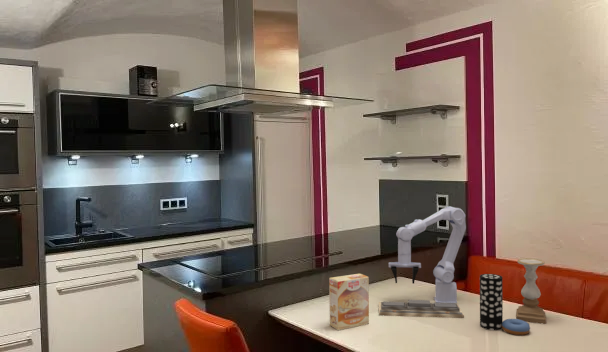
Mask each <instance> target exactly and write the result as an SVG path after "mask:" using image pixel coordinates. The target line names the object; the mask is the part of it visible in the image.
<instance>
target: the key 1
mask: <svg viewBox="0 0 608 352" xmlns="http://www.w3.org/2000/svg"><path fill="white" fill-rule="evenodd" d="M382 302H383V306H398V307H405V305H404V301H382Z"/></svg>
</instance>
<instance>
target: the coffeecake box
mask: <svg viewBox="0 0 608 352" xmlns="http://www.w3.org/2000/svg"><path fill="white" fill-rule="evenodd" d="M369 278H370V277H369V276H367V275H365V274H363V273H355V274H354V273H353V274H348V275H347V274H346V275H340V276H339V275H338V276H334V277H329V282H328V283H329V285H328V286H329V291H328V292H329V296H328V297H329V301H328V302H329V326H330V327H333V328H334V329H335V330H337V331H341V330H347V329H351V328H356V327H360V326H365V325H369V324H370V312H369V311H370V304H369V303H370V299H369V298H370V297H369V295H370V292H369V291H370V289H369V288H370V285H369V284H370V283H369V282H370V279H369Z"/></svg>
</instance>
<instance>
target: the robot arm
mask: <svg viewBox="0 0 608 352" xmlns="http://www.w3.org/2000/svg"><path fill="white" fill-rule="evenodd" d="M466 216H467V215H466V214H465V212H464V211H463V209H461V208H460V207H454V206H450V205H448V206H445V207H444V208H441V209H439V210H438V211H437V212H434V213H433V214H431V215H430V216H428V217H426V218H424V219H419V218H418V219H414V220H413V222H411V223H409V224H405V225H404V226H400V227H399V228H398V230H397V231H396V233H395V234H396V237H397V243H398V244H397V254H398V255H397V261H394V262H392V261H391V262H388V268H390V269H391V270H390V271H391V272H392V275H393V276H394V281H395V282H394V283H395V284H398V278H397V275H398V274H397V269H398V268H412V276H411V277H412V280H411V282H412V284H415V281H416V277H417V275H418V272H419V271H420V270H419V269H421V268H422V263H421V262H413V261H412V247H411V246H412V243H411V242H412V241H411V240H412V239H413V237H416V236H417V235H418V234H421V233H422V232H425V231H426V230H427V227H428V226H431V225H433V224H435V223H437V222H439V221H442V220H443V221H448V222H449V224H450V225H451V226H452V230H451V233H450V236H449V239H448V240H447V241H448V242H447V245H446V247H445V250H444V253H443V255H442V259H441V260H439V261H438V263H437V265H436V266H435V267H434V269H433V270H432V272H433V273H432V274H433V276H434V277H435V281H434V283H435V291H434V292H435V294H434V295H435V296H434V297H433V300H434V301H435V302H434V303H455V304H458V300H457V299H458V298H457V297H458V296H457V295H458V290H457V289H458V288H457V282H455V281H453V280H454V279H455V276H454V275H455V274H454V273H455V270H456V269H455V266H454V263H455V260H456V257H457V255H458V252H459V249H460V246H461V245H462V244H461V243H462V242H463V241H462V240H463V238H464V235H465V233H466V230H467V224H466Z"/></svg>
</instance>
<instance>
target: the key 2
mask: <svg viewBox="0 0 608 352" xmlns="http://www.w3.org/2000/svg"><path fill="white" fill-rule="evenodd" d="M433 303H434V307H435V308H457V306H456V304H457V303H436V302H433Z"/></svg>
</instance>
